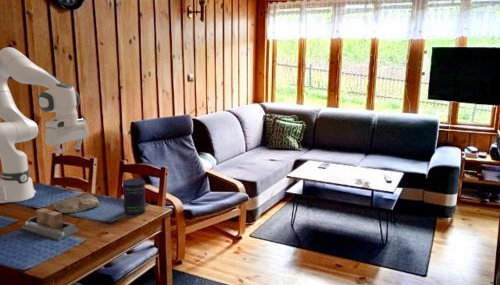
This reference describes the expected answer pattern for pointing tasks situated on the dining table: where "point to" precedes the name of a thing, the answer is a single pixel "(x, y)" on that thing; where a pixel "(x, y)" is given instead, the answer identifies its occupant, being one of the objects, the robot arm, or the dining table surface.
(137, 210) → the storage jar
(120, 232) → the dining table surface
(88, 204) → the grey brown rock
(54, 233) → the grey rectangular tray
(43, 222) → the wooden block
